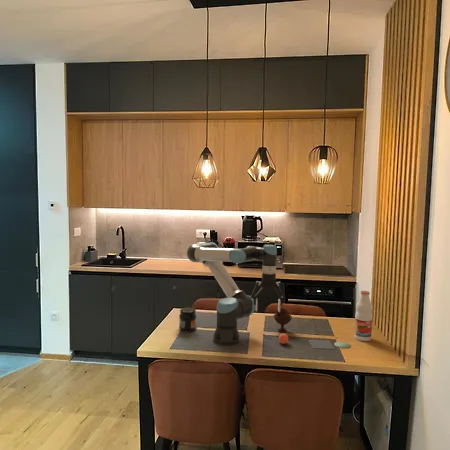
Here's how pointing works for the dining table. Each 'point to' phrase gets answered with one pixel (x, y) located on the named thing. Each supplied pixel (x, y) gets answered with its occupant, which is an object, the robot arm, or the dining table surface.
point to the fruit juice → (363, 318)
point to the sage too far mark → (342, 344)
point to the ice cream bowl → (282, 318)
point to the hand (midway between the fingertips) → (267, 311)
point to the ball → (283, 338)
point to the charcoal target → (321, 344)
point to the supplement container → (187, 319)
